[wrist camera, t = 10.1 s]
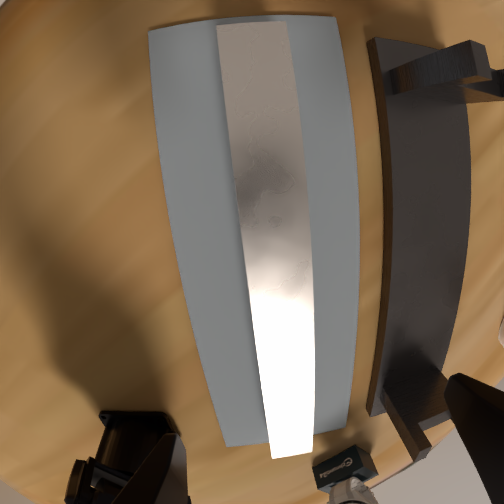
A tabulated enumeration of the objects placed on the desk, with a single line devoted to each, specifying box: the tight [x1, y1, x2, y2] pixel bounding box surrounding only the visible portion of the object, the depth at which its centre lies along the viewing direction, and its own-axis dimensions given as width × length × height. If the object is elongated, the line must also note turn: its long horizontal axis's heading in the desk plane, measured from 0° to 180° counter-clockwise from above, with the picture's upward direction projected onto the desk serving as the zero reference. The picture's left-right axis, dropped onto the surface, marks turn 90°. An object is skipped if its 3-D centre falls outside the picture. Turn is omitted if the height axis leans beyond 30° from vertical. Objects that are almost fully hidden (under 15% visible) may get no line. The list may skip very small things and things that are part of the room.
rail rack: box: [366, 37, 504, 462], centre depth 15 cm, size 7×29×8 cm, turn 7°
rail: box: [216, 21, 315, 459], centre depth 17 cm, size 3×28×3 cm, turn 6°
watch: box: [312, 445, 379, 504], centre depth 21 cm, size 6×8×11 cm
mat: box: [148, 15, 360, 447], centre depth 18 cm, size 11×32×1 cm, turn 7°
